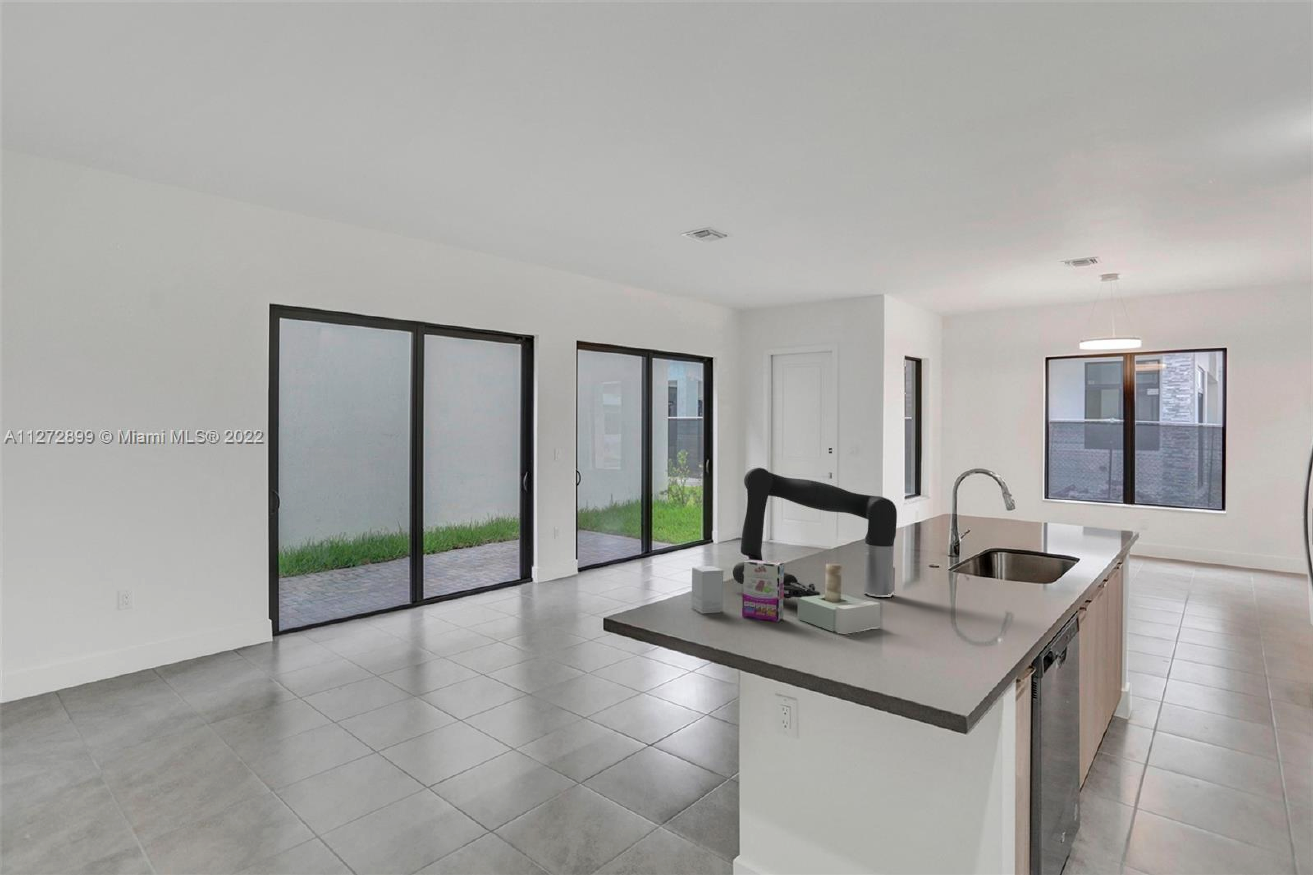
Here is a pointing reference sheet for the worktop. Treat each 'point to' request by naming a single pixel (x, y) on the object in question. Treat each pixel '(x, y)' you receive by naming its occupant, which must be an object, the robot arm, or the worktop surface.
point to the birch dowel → (833, 583)
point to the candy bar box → (763, 590)
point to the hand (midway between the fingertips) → (818, 596)
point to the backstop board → (857, 617)
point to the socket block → (822, 610)
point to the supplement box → (707, 589)
